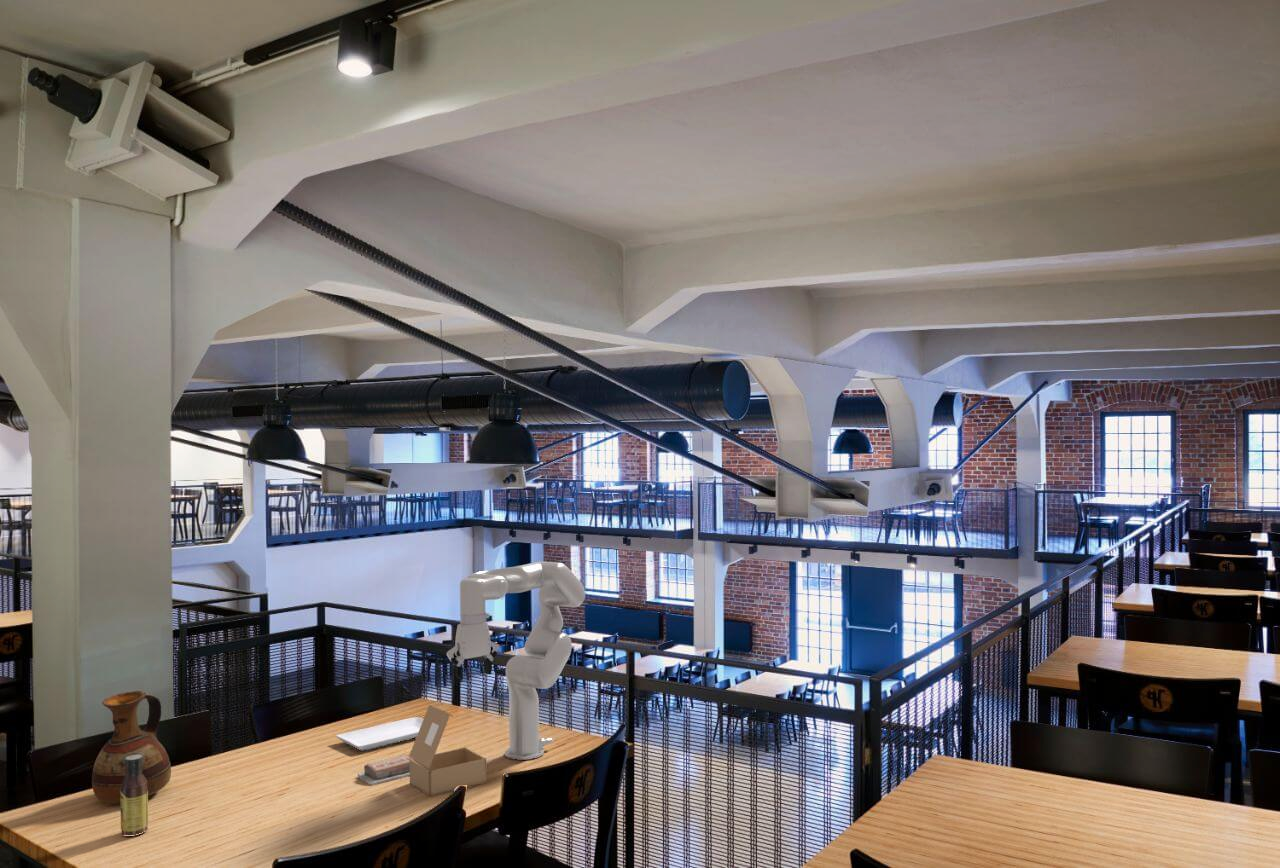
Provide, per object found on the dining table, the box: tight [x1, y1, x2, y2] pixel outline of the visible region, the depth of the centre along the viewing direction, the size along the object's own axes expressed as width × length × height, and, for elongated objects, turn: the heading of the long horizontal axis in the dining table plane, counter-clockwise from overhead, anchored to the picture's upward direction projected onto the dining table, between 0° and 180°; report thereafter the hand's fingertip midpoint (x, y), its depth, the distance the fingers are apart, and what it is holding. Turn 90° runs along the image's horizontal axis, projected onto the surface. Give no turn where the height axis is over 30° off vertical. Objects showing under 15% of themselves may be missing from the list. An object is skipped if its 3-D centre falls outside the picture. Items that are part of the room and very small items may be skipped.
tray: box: [335, 716, 424, 752], centre depth 319 cm, size 17×31×4 cm, turn 133°
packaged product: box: [357, 753, 413, 786], centre depth 284 cm, size 18×5×10 cm
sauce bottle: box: [120, 755, 149, 836], centre depth 241 cm, size 7×6×20 cm
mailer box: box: [409, 747, 488, 798], centre depth 275 cm, size 18×14×7 cm
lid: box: [408, 704, 453, 768], centre depth 273 cm, size 16×14×2 cm
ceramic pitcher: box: [91, 690, 172, 804], centre depth 269 cm, size 20×20×30 cm
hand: (473, 676), depth 281 cm, fingers open, 9 cm apart
